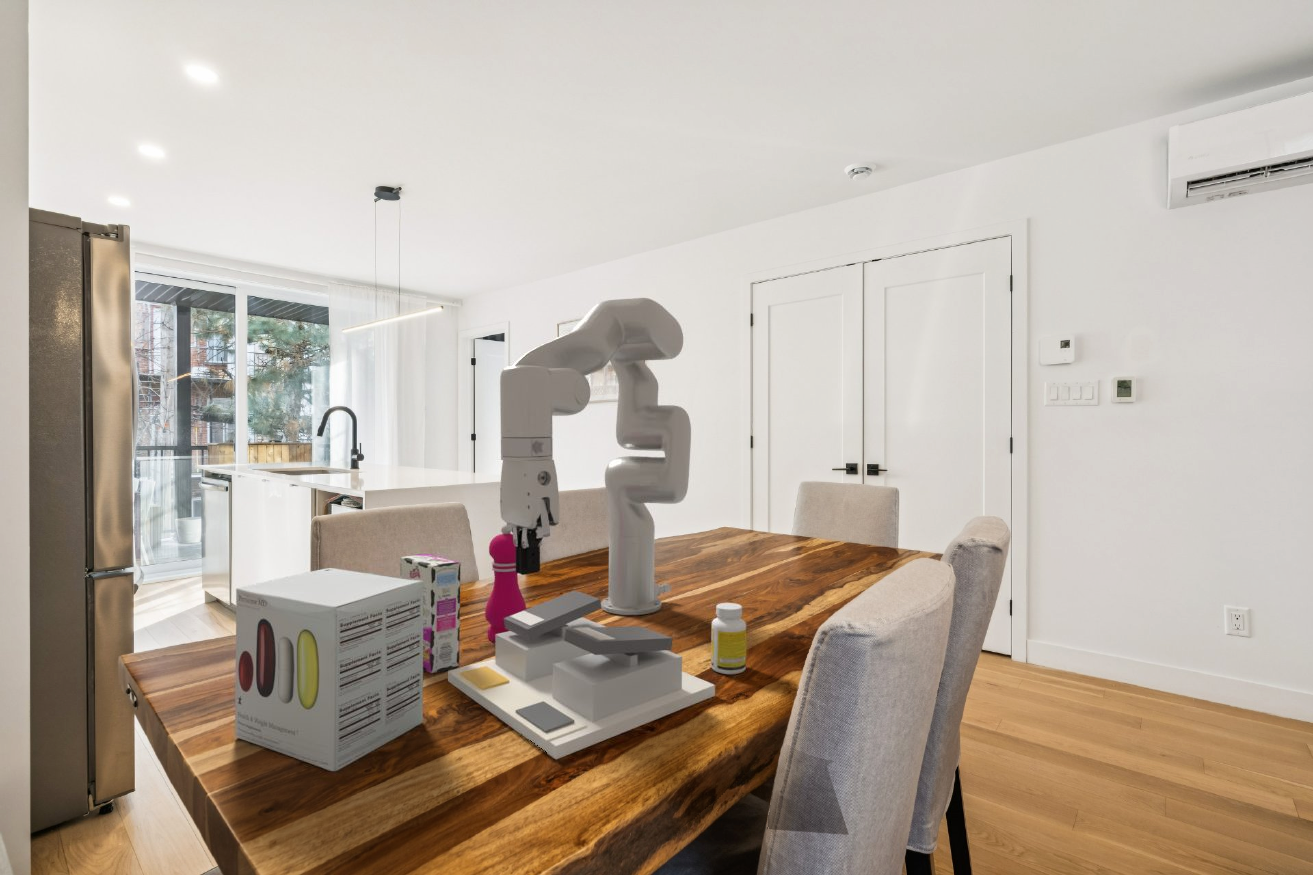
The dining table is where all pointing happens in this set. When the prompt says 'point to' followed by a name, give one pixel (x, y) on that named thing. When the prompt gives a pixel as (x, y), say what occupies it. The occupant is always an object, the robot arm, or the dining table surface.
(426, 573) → the candy bar box
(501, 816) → the dining table surface
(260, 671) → the supplement box
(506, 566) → the pepper mill
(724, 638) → the supplement bottle
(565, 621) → the marked switch
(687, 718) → the dining table surface
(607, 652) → the plain switch
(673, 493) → the robot arm
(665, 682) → the switch unit
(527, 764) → the dining table surface
